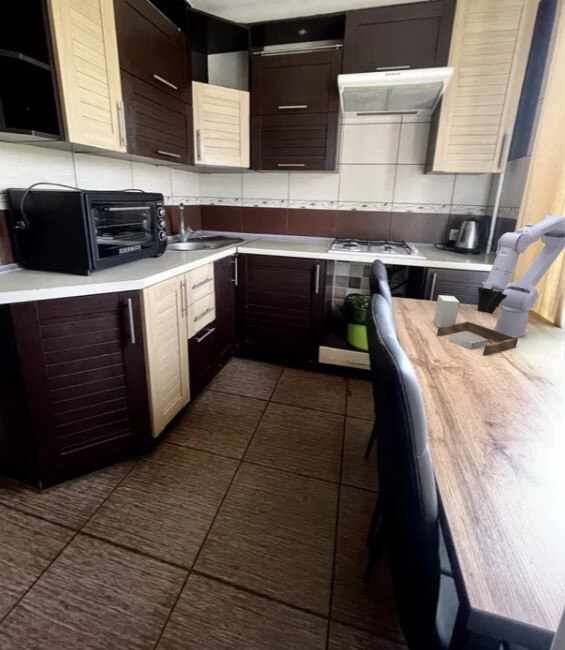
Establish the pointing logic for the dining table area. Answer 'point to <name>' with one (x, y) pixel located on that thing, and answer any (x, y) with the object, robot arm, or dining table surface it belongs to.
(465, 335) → the cover plate
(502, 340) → the brown u-shaped frame
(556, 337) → the dining table surface
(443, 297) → the small box
